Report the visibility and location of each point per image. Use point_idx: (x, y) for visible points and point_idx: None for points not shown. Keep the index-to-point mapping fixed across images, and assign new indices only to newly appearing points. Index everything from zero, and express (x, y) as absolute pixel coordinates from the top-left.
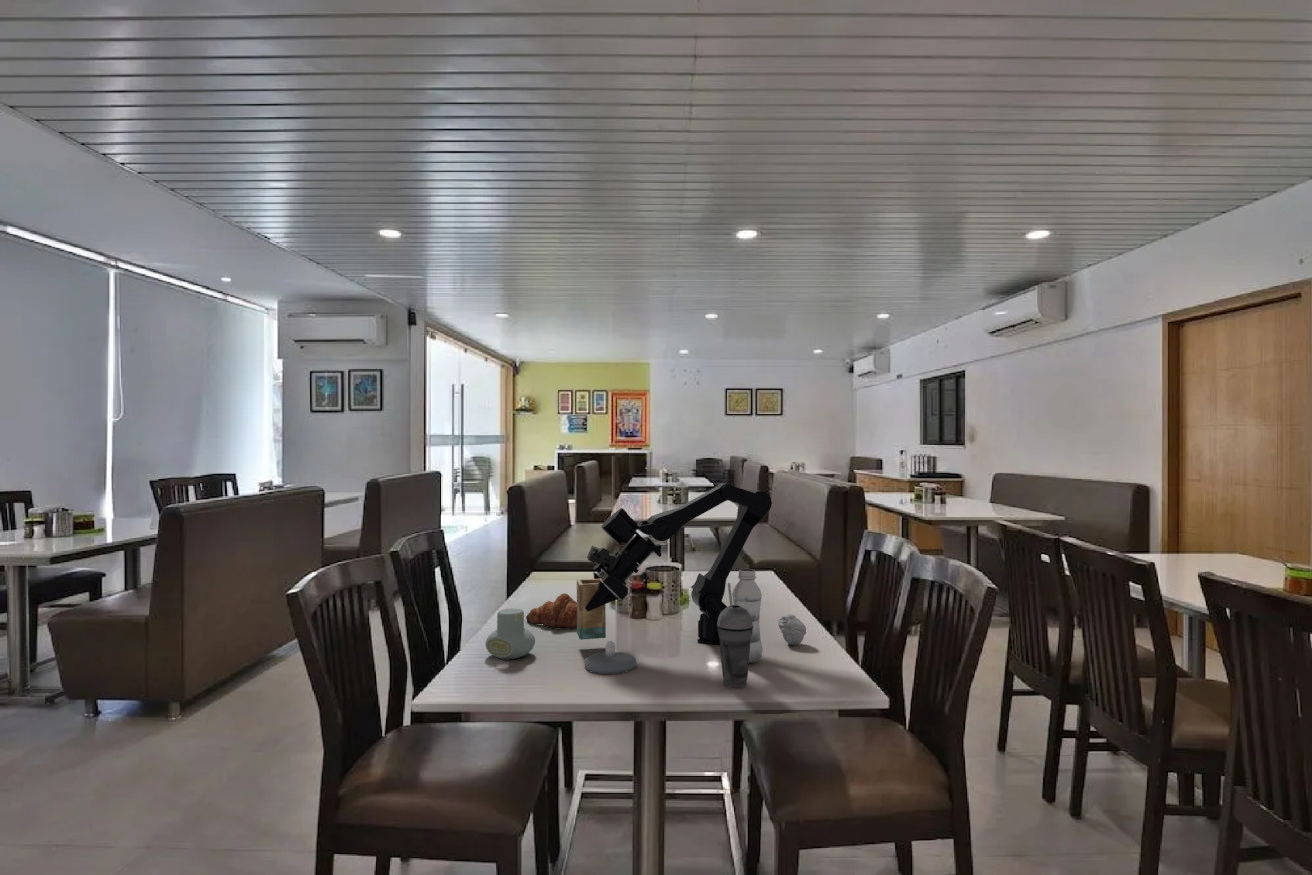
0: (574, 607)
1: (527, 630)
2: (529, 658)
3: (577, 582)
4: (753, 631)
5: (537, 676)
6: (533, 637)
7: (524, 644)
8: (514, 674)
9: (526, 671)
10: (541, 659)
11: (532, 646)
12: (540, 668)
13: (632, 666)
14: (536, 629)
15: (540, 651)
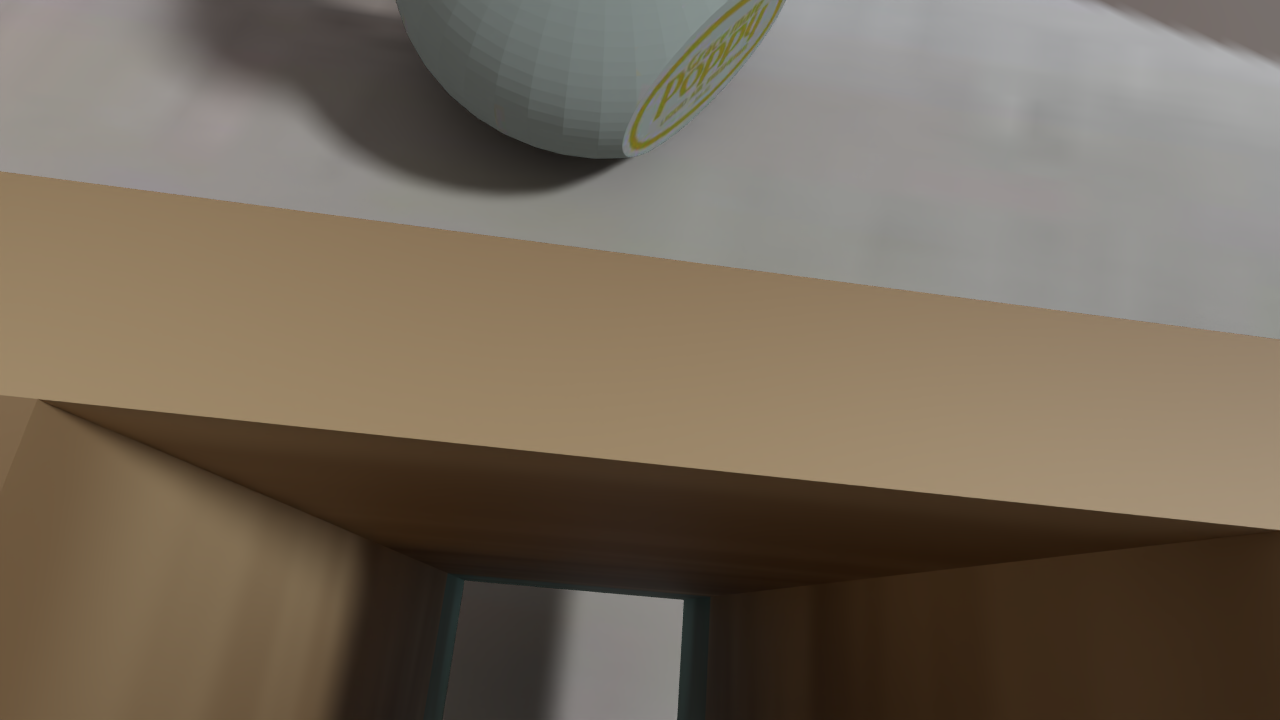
0: None
1: (589, 12)
2: (472, 150)
3: (942, 327)
4: None
5: (7, 124)
6: (535, 92)
7: (409, 18)
8: (148, 8)
9: (170, 81)
10: (410, 220)
11: (486, 119)
12: (187, 175)
13: None
14: (1234, 325)
15: (622, 249)
